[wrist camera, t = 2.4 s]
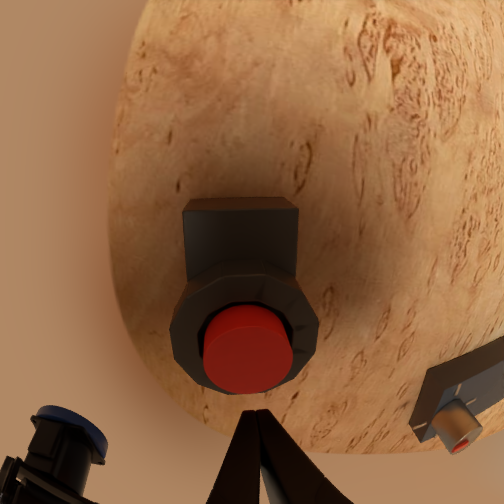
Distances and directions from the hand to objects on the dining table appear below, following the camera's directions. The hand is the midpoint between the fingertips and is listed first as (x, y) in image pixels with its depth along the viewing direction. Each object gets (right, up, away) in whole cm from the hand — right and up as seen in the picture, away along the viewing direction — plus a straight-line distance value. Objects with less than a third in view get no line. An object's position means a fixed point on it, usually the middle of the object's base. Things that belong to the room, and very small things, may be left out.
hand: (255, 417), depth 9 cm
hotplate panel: (+24, -8, +15) cm, 29 cm away
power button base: (-1, +4, +8) cm, 9 cm away
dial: (+18, -9, +12) cm, 23 cm away
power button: (0, +1, +4) cm, 5 cm away
